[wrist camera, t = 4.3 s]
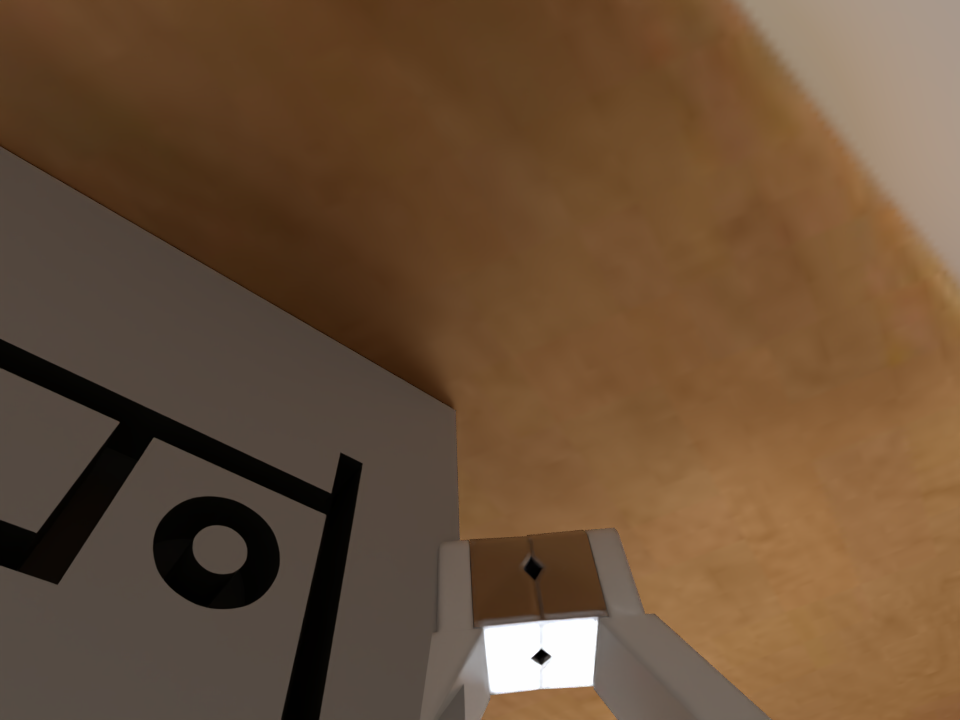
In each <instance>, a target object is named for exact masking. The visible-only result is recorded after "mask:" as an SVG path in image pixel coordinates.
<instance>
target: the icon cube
mask: <svg viewBox="0 0 960 720" xmlns="http://www.w3.org/2000/svg"><path fill="white" fill-rule="evenodd" d="M457 540H460V536H459V504H458V472H457V439H456V410H454V409H452V408H451V407H449V406H447V405H445V404H444V403H442V402H440V401H438V400H437V399H435V398H433V397H432V396H430V395H428V394H426V393H425V392H423V391H421V390H419V389H418V388H416V387H414V386H413V385H411V384H409V383H407V382H406V381H404V380H402V379H401V378H399V377H397V376H395V375H394V374H392V373H390V372H388V371H387V370H385V369H383V368H382V367H380V366H378V365H376V364H375V363H373V362H371V361H369V360H368V359H366V358H364V357H363V356H361V355H359V354H357V353H356V352H354V351H352V350H350V349H349V348H347V347H345V346H344V345H342V344H340V343H338V342H337V341H335V340H333V339H332V338H330V337H328V336H326V335H325V334H323V333H321V332H319V331H318V330H316V329H314V328H313V327H311V326H309V325H307V324H306V323H304V322H302V321H300V320H299V319H297V318H295V317H294V316H292V315H290V314H288V313H287V312H285V311H283V310H281V309H280V308H278V307H276V306H275V305H273V304H271V303H269V302H268V301H266V300H264V299H263V298H261V297H259V296H257V295H256V294H254V293H252V292H250V291H249V290H247V289H245V288H244V287H242V286H240V285H238V284H237V283H235V282H233V281H231V280H230V279H228V278H226V277H225V276H223V275H221V274H219V273H218V272H216V271H214V270H212V269H211V268H209V267H207V266H206V265H204V264H202V263H200V262H199V261H197V260H195V259H194V258H192V257H190V256H188V255H187V254H185V253H183V252H181V251H180V250H178V249H176V248H175V247H173V246H171V245H169V244H168V243H166V242H164V241H162V240H161V239H159V238H157V237H156V236H154V235H152V234H150V233H149V232H147V231H145V230H143V229H142V228H140V227H138V226H137V225H135V224H133V223H131V222H130V221H128V220H126V219H124V218H123V217H121V216H119V215H118V214H116V213H114V212H112V211H111V210H109V209H107V208H106V207H104V206H102V205H100V204H99V203H97V202H95V201H93V200H92V199H90V198H88V197H87V196H85V195H83V194H81V193H80V192H78V191H76V190H74V189H73V188H71V187H69V186H68V185H66V184H64V183H62V182H61V181H59V180H57V179H55V178H54V177H52V176H50V175H49V174H47V173H45V172H43V171H42V170H40V169H38V168H37V167H35V166H33V165H31V164H30V163H28V162H26V161H24V160H23V159H21V158H19V157H18V156H16V155H14V154H12V153H11V152H9V151H7V150H5V149H4V148H2V147H0V720H420V715H421V708H422V701H423V694H424V687H425V680H426V673H427V666H428V659H429V652H430V645H431V638H432V633H433V632H437V606H438V549H439V546H440V544H441V543H442V542H444V541H457ZM438 720H465V698H464V685H463V686H462V688H461V689H460V690H459V692H458V693H457V694H456V696H455V697H454V698H453V700H452V701H451V703H450V704H449V705H448V707H447V708H446V709H445V711H444V712H443V713H442V715H441V716H440V718H439V719H438Z"/></svg>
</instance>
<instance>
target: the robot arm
mask: <svg viewBox="0 0 960 720" xmlns="http://www.w3.org/2000/svg"><path fill="white" fill-rule="evenodd" d="M463 685H464V698H465V720H481V718H482V716H483V714H484V711H485V709H486V707H487V705H488V702H489V700H490V695H495V694H504V693H512V692H521V691H530V690H538V689H541V688H542V689H553V688H570V687H588V686H594V690H595V691H596V692H597V694H598V695H599V696H600V697H601V699H602V700H603V701H604V703H605V704H606V705H607V706H608V708H609V709H610V710H611V712H612V713H613V714H614V715H615V717H616V718H617V719H618V720H772V719H770V718H769V717H768V716H767V715H766V714H765V713H764V712H763V711H762V710H761V709H759V708H758V707H757V706H756V705H755V704H754V703H753V702H752V701H751V700H749V699H748V698H747V697H746V696H745V695H744V694H743V693H742V692H741V691H740V690H738V689H737V688H736V687H735V686H734V685H733V684H732V683H731V682H730V681H728V680H727V679H726V678H725V677H724V676H723V675H722V674H721V673H720V672H719V671H717V670H716V669H715V668H714V667H713V666H712V665H711V664H710V663H709V662H707V661H706V660H705V659H704V658H703V657H702V656H701V655H700V654H699V653H698V652H696V651H695V650H694V649H693V648H692V647H691V646H690V645H689V644H688V643H686V642H685V641H684V640H683V639H682V638H681V637H680V636H679V635H678V634H677V633H675V632H674V631H673V630H672V629H671V628H670V627H669V626H668V625H667V624H665V623H664V622H663V621H662V620H661V619H660V618H659V617H658V616H657V615H655V614H645V612H644V609H643V606H642V603H641V600H640V597H639V594H638V591H637V588H636V585H635V582H634V579H633V576H632V573H631V570H630V566H629V563H628V560H627V557H626V554H625V551H624V548H623V545H622V542H621V539H620V536H619V533H618V532H617V530H616V529H615V528H605V529H593V530H585V531H584V530H575V531H565V532H555V533H544V534H534V535H527V536H522V537H504V538H487V539H470V541H469V540H457V541H444V542H442V543H441V544H440V546H439V549H438V606H437V632H433V633H432V638H431V645H430V652H429V659H428V666H427V673H426V680H425V687H424V694H423V701H422V708H421V715H420V720H438V719H439V718H440V716H441V715H442V713H443V712H444V711H445V709H446V708H447V707H448V705H449V704H450V703H451V701H452V700H453V698H454V697H455V696H456V694H457V693H458V692H459V690H460V689H461V688H462V686H463Z"/></svg>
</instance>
